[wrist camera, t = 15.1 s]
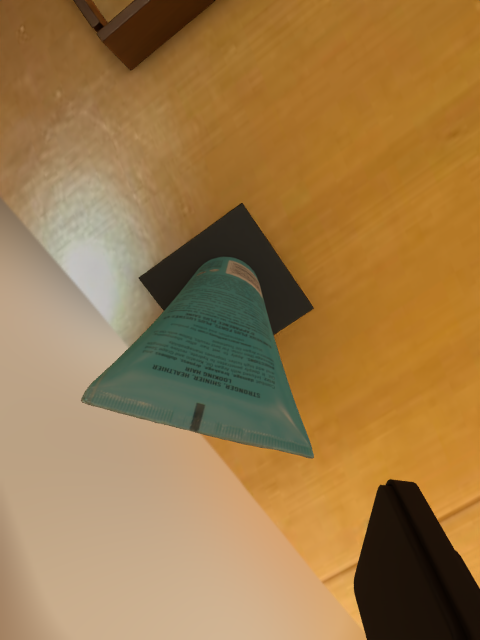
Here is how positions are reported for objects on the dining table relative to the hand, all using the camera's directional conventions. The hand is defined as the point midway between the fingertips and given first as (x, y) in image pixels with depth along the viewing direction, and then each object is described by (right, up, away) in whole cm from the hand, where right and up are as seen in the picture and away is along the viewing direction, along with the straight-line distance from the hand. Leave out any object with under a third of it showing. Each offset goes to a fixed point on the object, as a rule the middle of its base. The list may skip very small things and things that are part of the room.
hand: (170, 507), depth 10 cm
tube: (+1, +6, +22) cm, 23 cm away
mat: (+1, +6, +23) cm, 24 cm away
